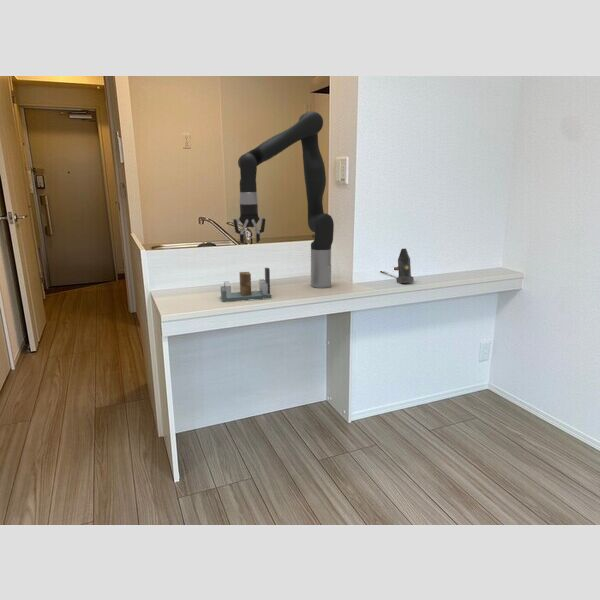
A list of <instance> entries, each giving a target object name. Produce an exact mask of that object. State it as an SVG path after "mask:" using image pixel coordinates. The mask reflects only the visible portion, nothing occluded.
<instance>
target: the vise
mask: <svg viewBox="0 0 600 600" xmlns="http://www.w3.org/2000/svg"><path fill="white" fill-rule="evenodd" d="M220 297H221V298H220V299H221V300H223V301H222V302H223V303H227V302H226V301H230V302H238V301H237V300H245V301H249V300H248V299H259V300H264V299H263V298H272V294H271V292H270V293H268V295H263V294H262V293H261V292H260V290H251V295H248V296H242V295H241V293H240V291H238V292H237V291H234V292H233V291H232V284H231V283H230V281H229V280H227V281H223V285H221V286H220Z"/></svg>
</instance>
